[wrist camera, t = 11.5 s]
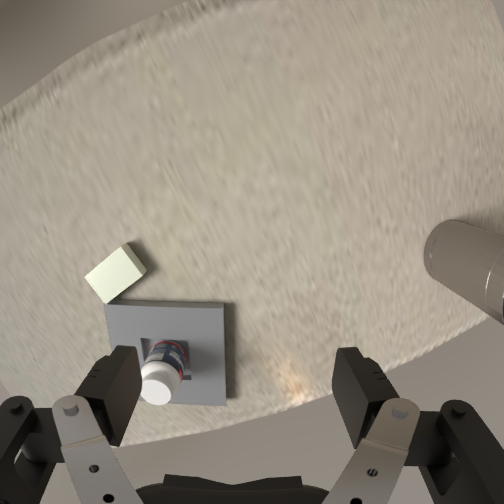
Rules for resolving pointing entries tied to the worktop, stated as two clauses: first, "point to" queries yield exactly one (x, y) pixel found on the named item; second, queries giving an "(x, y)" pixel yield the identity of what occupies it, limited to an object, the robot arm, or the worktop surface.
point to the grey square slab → (182, 332)
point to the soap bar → (116, 273)
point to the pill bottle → (163, 372)
